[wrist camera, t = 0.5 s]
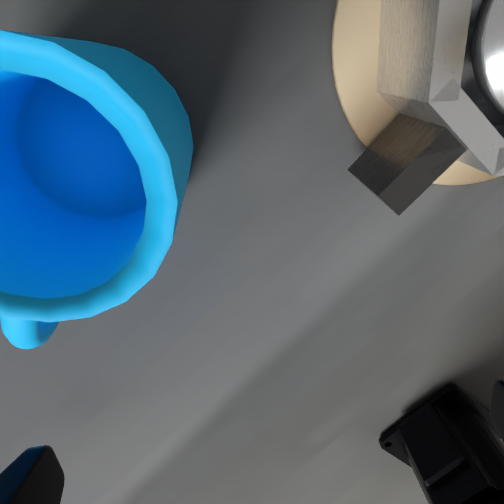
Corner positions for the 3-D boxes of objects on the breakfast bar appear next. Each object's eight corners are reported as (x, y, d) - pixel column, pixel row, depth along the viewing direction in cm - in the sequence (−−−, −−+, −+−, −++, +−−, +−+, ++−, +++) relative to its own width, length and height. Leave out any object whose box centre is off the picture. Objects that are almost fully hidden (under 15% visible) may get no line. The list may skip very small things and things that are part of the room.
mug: (21, 7, 16) (-142, -34, 9) (217, 86, 18) (216, 106, 11) (-15, 264, 21) (-143, 378, 13) (146, 307, 23) (110, 429, 15)
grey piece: (635, 23, 18) (779, 11, 13) (413, 231, 21) (466, 279, 17) (518, -174, 15) (653, -277, 10) (281, 107, 18) (302, 124, 14)
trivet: (684, 19, 18) (696, 18, 18) (450, 231, 22) (455, 235, 21) (525, -273, 14) (535, -284, 13) (268, 51, 18) (269, 50, 17)
